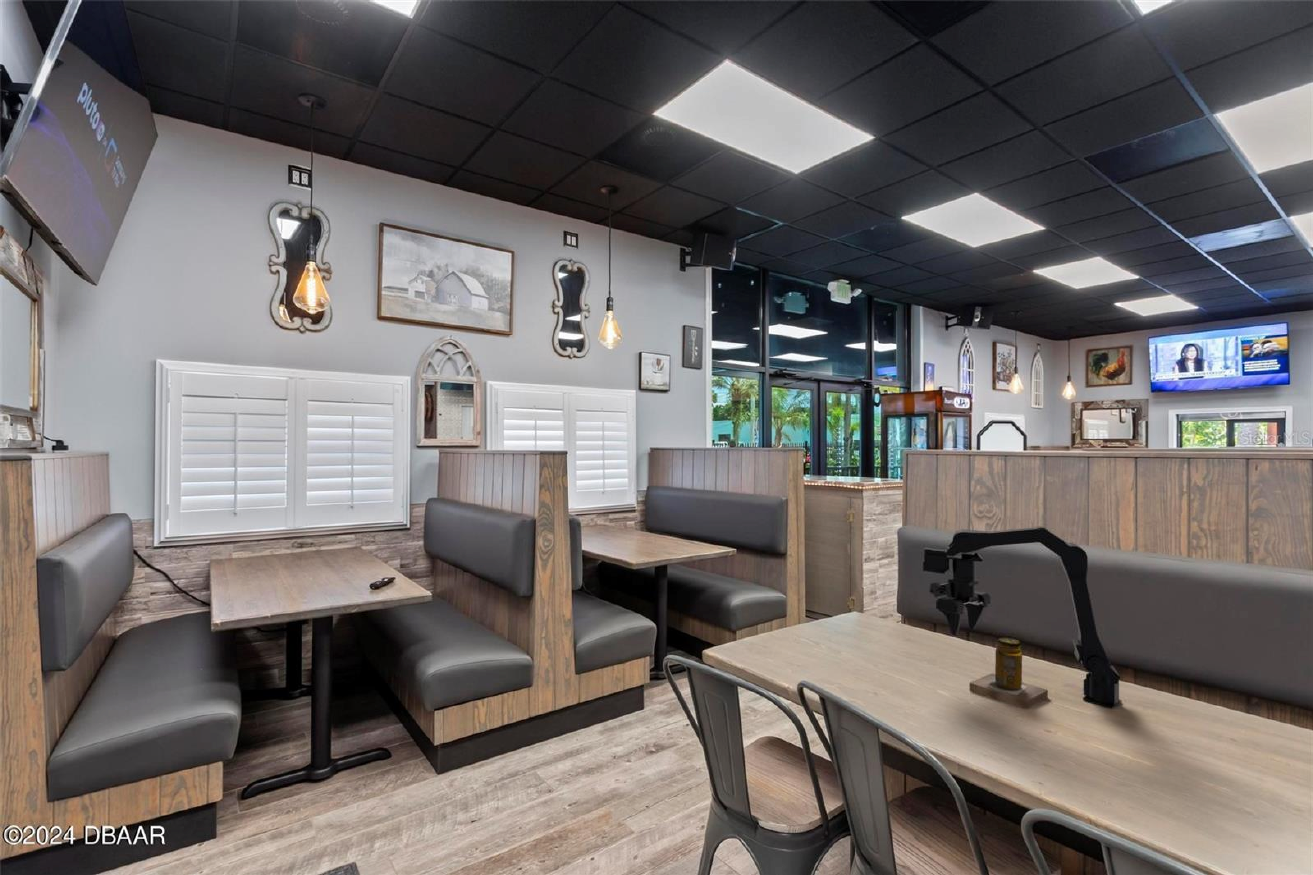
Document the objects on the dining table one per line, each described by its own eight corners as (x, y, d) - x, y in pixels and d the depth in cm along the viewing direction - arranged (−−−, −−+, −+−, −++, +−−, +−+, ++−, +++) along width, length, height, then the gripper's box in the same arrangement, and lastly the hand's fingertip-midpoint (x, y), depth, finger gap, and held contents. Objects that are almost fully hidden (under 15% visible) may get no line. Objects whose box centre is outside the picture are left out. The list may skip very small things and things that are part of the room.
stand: (1047, 697, 159) (1047, 689, 159) (1026, 709, 152) (1026, 701, 152) (992, 680, 171) (992, 673, 171) (969, 690, 164) (969, 682, 164)
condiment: (1027, 686, 161) (1027, 640, 161) (1017, 695, 155) (1017, 648, 156) (996, 678, 167) (997, 634, 167) (985, 687, 161) (986, 641, 161)
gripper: (953, 567, 183) (952, 619, 183) (917, 574, 173) (917, 630, 172) (991, 573, 174) (991, 629, 174) (956, 582, 163) (956, 641, 163)
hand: (963, 632), depth 171 cm, fingers open, 9 cm apart
